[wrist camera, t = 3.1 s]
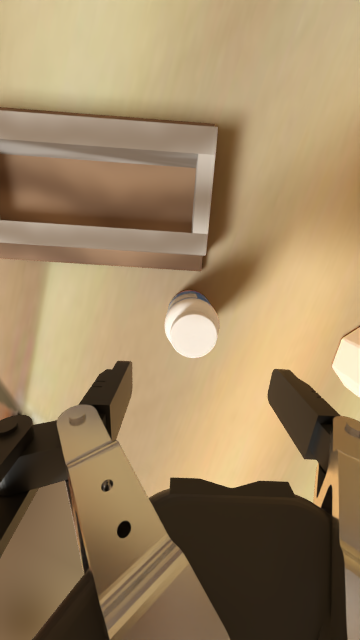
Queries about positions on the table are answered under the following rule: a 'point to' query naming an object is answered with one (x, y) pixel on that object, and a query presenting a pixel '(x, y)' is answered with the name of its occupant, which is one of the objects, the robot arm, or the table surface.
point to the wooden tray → (105, 189)
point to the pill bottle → (191, 324)
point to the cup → (349, 361)
